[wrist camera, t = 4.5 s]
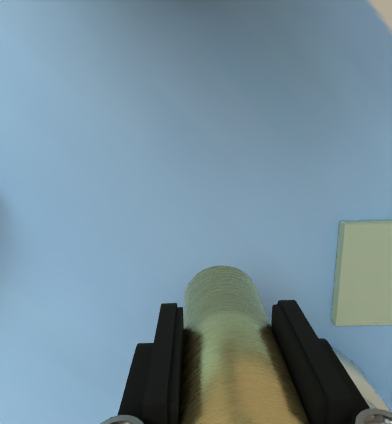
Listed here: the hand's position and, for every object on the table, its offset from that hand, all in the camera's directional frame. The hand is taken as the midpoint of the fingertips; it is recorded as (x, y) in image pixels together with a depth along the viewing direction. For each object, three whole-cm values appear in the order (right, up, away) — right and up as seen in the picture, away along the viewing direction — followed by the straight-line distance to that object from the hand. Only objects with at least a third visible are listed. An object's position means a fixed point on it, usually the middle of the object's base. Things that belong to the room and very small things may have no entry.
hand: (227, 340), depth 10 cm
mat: (+12, 0, +12) cm, 17 cm away
